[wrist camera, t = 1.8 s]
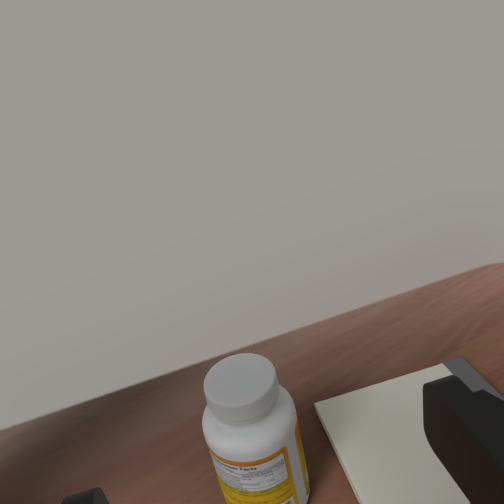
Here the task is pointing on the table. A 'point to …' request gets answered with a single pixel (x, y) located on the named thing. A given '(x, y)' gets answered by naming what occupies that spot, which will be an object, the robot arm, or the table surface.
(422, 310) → the table surface
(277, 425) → the supplement bottle
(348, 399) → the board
